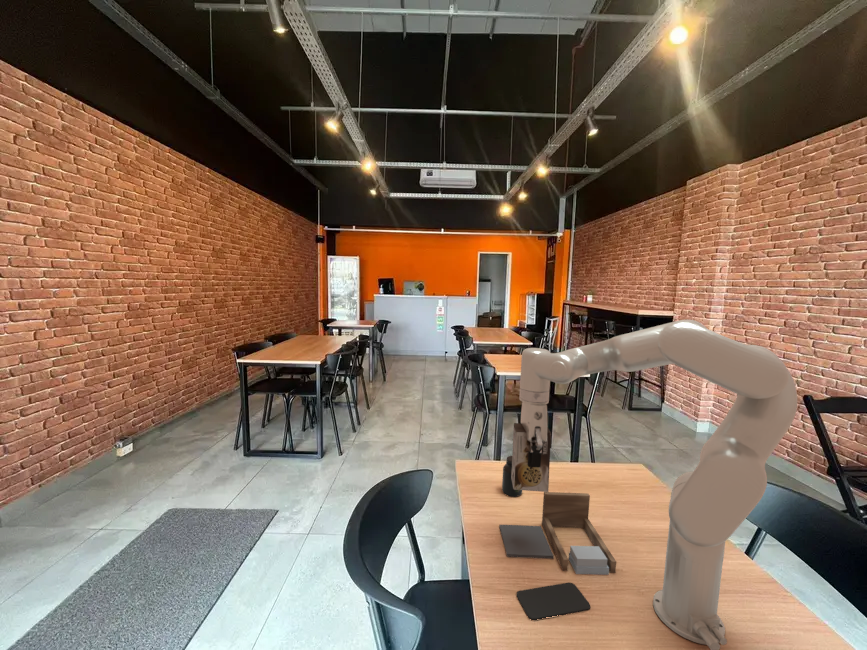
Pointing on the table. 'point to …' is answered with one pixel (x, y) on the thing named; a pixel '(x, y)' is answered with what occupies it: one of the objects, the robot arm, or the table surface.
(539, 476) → the coffee box
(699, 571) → the robot arm
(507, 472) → the supplement bottle
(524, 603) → the phone
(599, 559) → the block
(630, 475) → the table surface
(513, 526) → the dark grey square plate
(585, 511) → the walnut rack
